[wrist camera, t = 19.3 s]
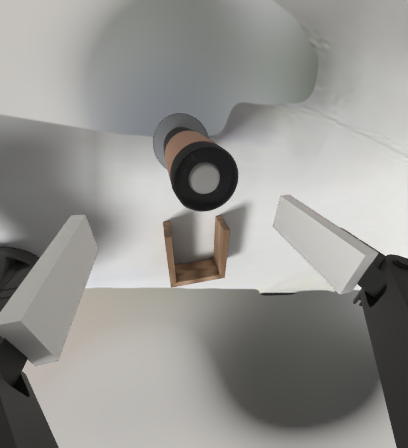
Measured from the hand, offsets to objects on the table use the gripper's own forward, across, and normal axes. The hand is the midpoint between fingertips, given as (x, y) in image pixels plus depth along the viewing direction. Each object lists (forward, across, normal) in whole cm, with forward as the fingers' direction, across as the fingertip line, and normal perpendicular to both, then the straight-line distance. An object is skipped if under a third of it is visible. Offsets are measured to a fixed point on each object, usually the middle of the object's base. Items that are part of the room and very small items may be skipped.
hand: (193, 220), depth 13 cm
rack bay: (+29, +5, -26) cm, 39 cm away
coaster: (+29, +3, 0) cm, 29 cm away
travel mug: (+28, +3, 0) cm, 28 cm away
